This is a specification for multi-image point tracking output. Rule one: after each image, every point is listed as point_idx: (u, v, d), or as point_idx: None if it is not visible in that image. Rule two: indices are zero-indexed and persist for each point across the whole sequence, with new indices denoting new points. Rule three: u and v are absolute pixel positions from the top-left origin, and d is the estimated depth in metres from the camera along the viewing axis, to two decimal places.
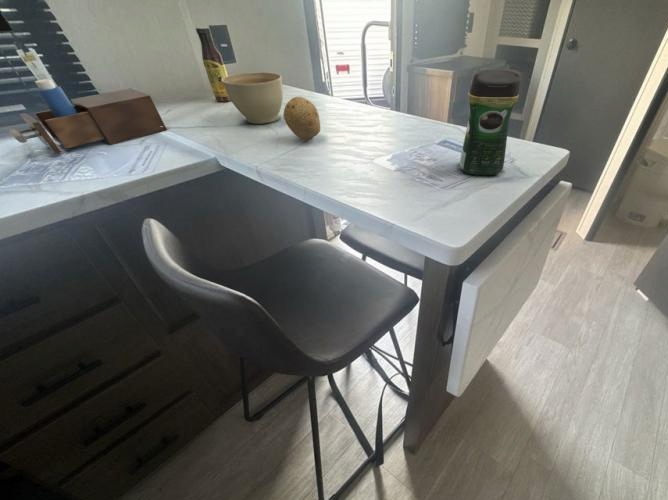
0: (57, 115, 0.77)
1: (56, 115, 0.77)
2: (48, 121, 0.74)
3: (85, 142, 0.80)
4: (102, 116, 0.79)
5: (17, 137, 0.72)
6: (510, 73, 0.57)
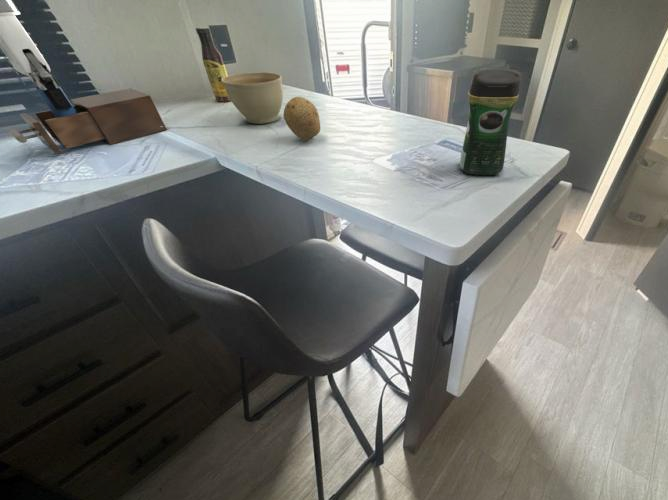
0: (57, 115, 0.77)
1: (56, 115, 0.77)
2: (48, 121, 0.74)
3: (85, 142, 0.80)
4: (102, 116, 0.79)
5: (17, 137, 0.72)
6: (510, 73, 0.57)
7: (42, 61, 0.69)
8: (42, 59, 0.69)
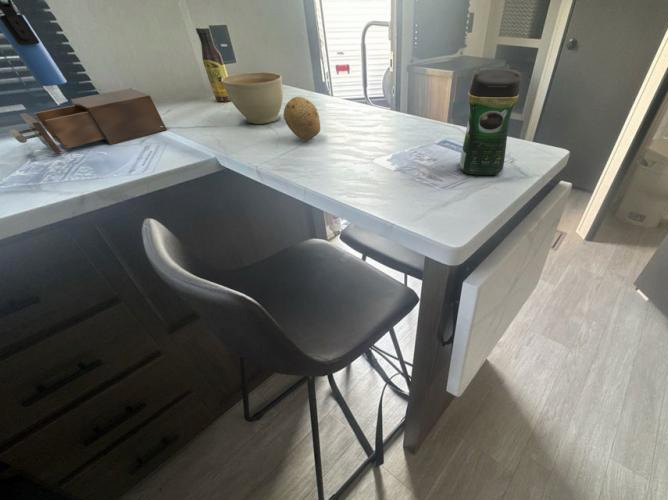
0: (21, 53, 0.60)
1: (20, 53, 0.60)
2: (48, 121, 0.74)
3: (85, 142, 0.80)
4: (102, 116, 0.79)
5: (17, 137, 0.72)
6: (510, 73, 0.57)
7: None
8: None
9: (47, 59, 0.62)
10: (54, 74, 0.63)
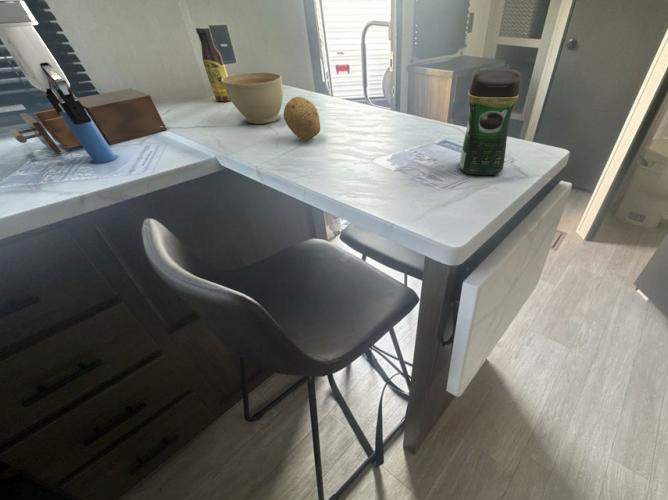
0: (81, 139, 0.71)
1: (80, 139, 0.71)
2: (48, 121, 0.74)
3: None
4: (102, 116, 0.79)
5: (17, 137, 0.72)
6: (510, 73, 0.57)
7: (56, 67, 0.61)
8: (61, 74, 0.62)
9: (102, 142, 0.73)
10: (107, 153, 0.74)
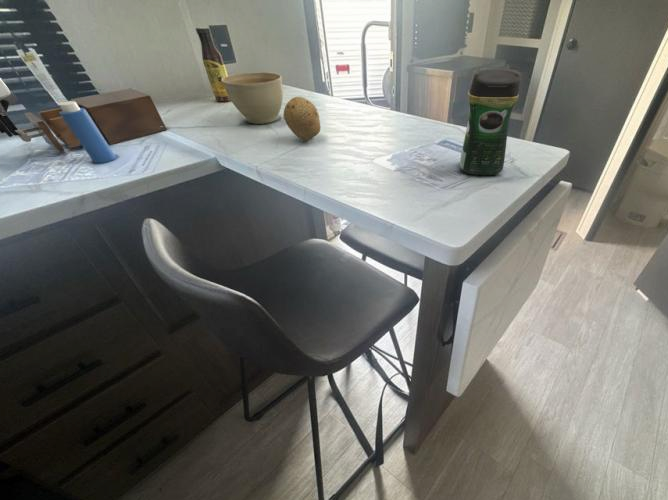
0: (81, 139, 0.71)
1: (80, 139, 0.71)
2: (52, 120, 0.74)
3: None
4: (102, 116, 0.79)
5: (21, 136, 0.73)
6: (510, 73, 0.57)
7: None
8: None
9: (102, 142, 0.73)
10: (107, 153, 0.74)
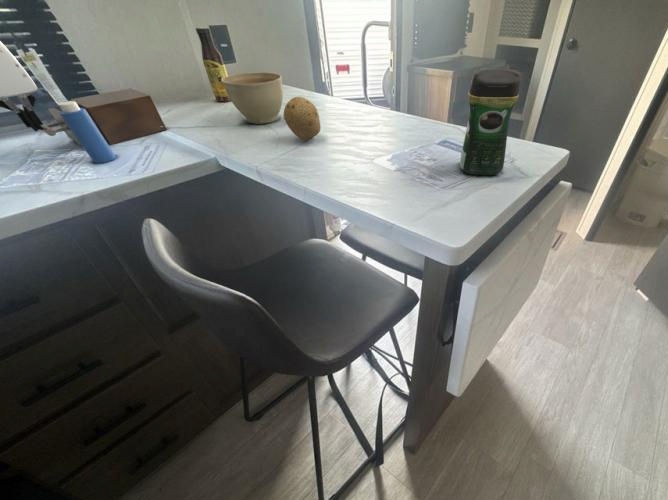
0: (81, 139, 0.71)
1: (80, 139, 0.71)
2: None
3: None
4: (102, 116, 0.79)
5: (47, 130, 0.75)
6: (510, 73, 0.57)
7: None
8: None
9: (102, 142, 0.73)
10: (107, 153, 0.74)
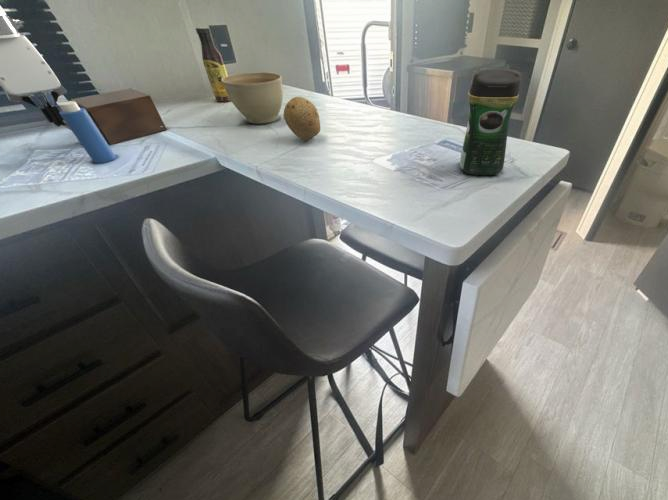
0: (81, 139, 0.71)
1: (80, 139, 0.71)
2: None
3: None
4: (102, 116, 0.79)
5: None
6: (510, 73, 0.57)
7: None
8: (0, 82, 0.68)
9: (102, 142, 0.73)
10: (107, 153, 0.74)
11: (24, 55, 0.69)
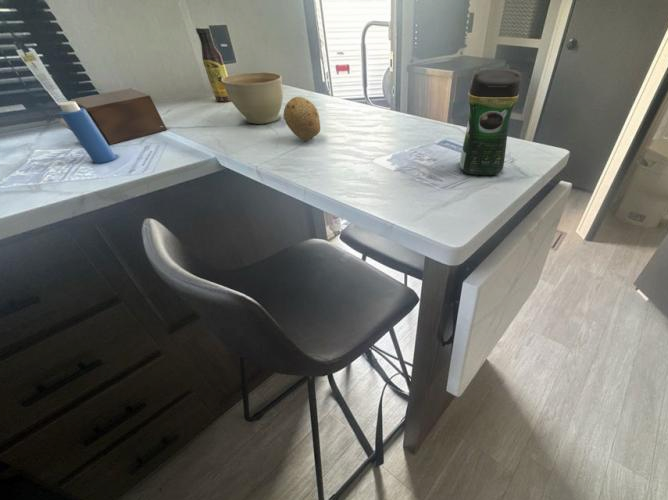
0: (81, 139, 0.71)
1: (80, 139, 0.71)
2: None
3: None
4: (102, 116, 0.79)
5: None
6: (510, 73, 0.57)
7: None
8: None
9: (102, 142, 0.73)
10: (107, 153, 0.74)
11: None
